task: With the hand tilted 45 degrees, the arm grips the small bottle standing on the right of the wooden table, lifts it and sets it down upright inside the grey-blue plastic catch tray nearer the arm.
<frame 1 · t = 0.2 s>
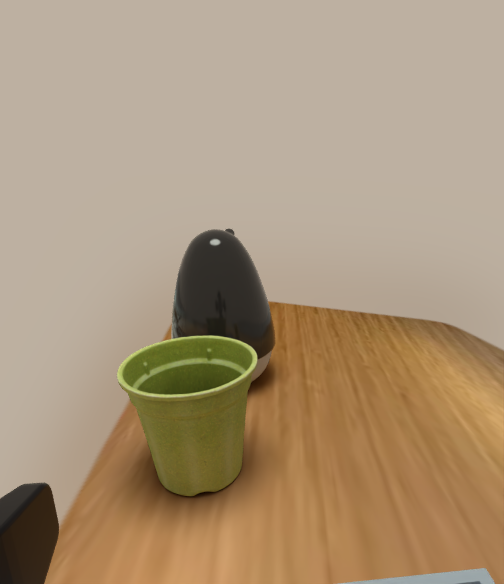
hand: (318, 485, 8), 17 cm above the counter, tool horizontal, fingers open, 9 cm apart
plant pot: (201, 470, 34), on the counter
dark grey egg-shaped device: (228, 378, 48), on the counter
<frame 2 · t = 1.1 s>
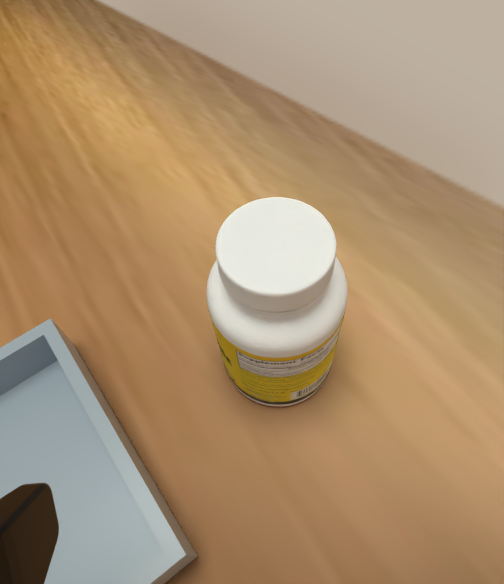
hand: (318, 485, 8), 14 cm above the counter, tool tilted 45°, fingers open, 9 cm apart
supplement bottle: (276, 359, 24), on the counter
catch tray: (7, 522, 20), on the counter
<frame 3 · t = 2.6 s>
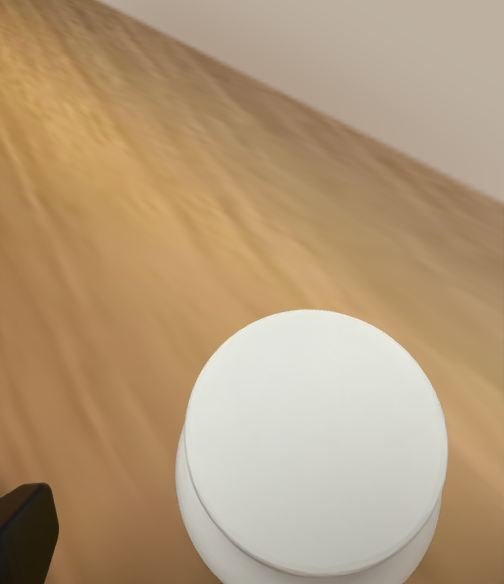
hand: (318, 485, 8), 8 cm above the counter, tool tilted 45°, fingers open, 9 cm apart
supplement bottle: (294, 502, 16), on the counter
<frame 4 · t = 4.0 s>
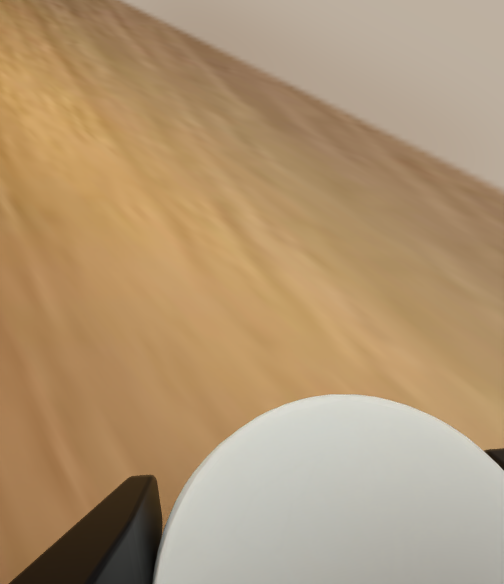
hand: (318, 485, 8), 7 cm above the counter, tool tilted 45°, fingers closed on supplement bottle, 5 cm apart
supplement bottle: (306, 574, 13), on the counter, touching gripper
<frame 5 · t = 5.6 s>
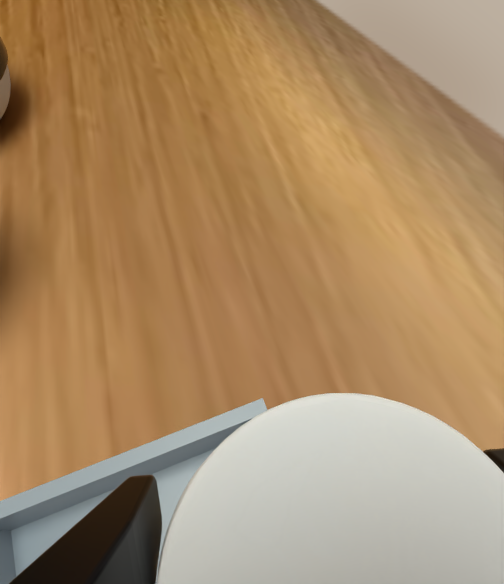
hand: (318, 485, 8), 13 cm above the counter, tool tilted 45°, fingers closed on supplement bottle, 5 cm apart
supplement bottle: (310, 571, 13), point 6 cm above the counter, touching gripper
when the fingers open (8 cm above the counter, at t = 7.3 s): supplement bottle stays where it is, resting on catch tray.
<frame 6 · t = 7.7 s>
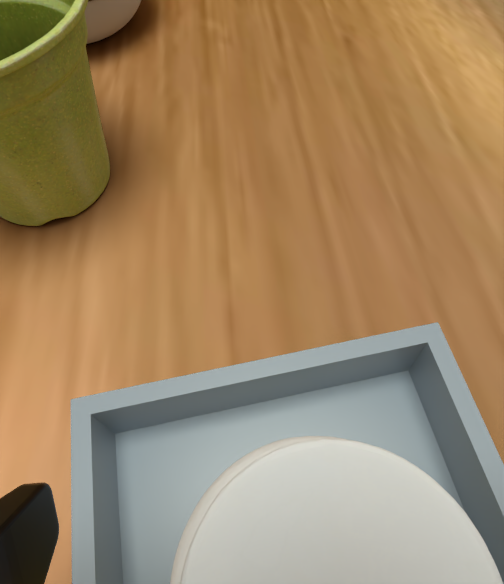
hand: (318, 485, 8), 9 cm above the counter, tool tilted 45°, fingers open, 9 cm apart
plant pot: (53, 182, 24), on the counter
dark grey egg-shaped device: (86, 24, 31), on the counter
supplement bottle: (302, 579, 14), resting on catch tray
catch tray: (302, 573, 14), on the counter
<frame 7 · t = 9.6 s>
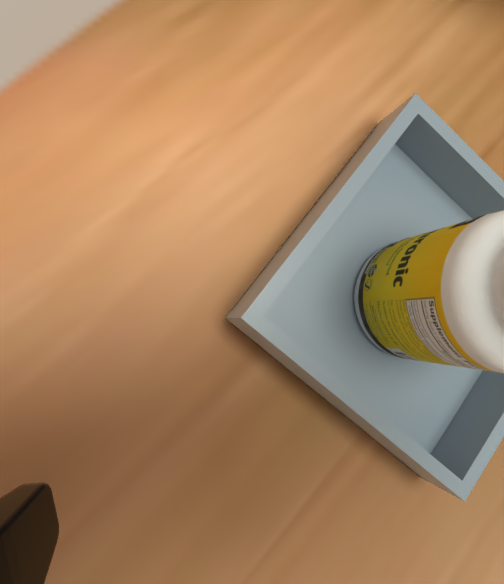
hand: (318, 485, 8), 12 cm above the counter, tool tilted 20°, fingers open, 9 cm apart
supplement bottle: (400, 299, 22), resting on catch tray
catch tray: (399, 297, 22), on the counter
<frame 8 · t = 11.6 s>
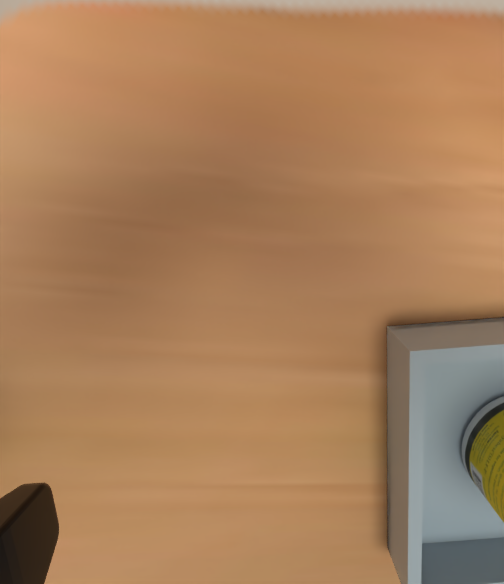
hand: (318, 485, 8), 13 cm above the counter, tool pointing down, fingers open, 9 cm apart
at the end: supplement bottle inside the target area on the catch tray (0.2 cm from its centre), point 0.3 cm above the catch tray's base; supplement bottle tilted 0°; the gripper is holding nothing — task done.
